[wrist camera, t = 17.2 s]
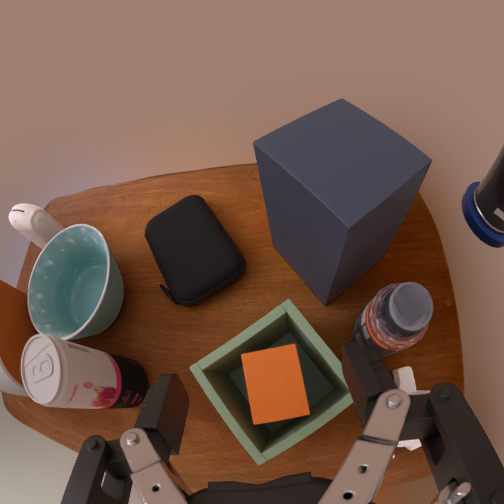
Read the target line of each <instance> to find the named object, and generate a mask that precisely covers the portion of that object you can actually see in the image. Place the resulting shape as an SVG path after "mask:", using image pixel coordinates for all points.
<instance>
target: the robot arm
mask: <svg viewBox="0 0 504 504" xmlns="http://www.w3.org/2000/svg"><path fill="white" fill-rule="evenodd" d="M472 201H473V206H474V209H475V211H476V213H477V215H478V217H479V218H480V220H481V221H482V222H483V223H484V225H485V226H486V227H487V228H489V229H490V230H491V231H493V232H494V233H497V234H500V235H504V143H503V145H502V147H501V149H500V151H499V152H498V154H497V156H496V158H495V159H494V161H493V163H492V165H491V166H490V168H489V170H488V171H487V173H486V175H485V176H484V178H483V179H482V181H481V182H480V184H479V185H478V186H477V188H476V189H475V191H474V192H473V196H472ZM341 359H342V371H343V376H344V379H345V381H346V384H347V386H348V389H349V392H350V394H351V397H352V399H353V402H354V404H355V407H356V410H357V412H358V415H359V417H360V420H361V423H362V425H363V428H364V431H363V433H362V435H361V436H359V437H358V438H357V439H356V441H355V442H354V444H353V446H352V448H351V450H350V452H349V454H348V455H347V457H346V459H345V461H344V463H343V464H342V466H341V468H340V469H339V471H338V473H337V474H336V476H335V478H334V479H333V480H331V479H327V478H321V477H311V472H306V473H300V474H295V475H288V476H284V477H281V478H278V479H275V480H272V481H269V482H266V483H263V484H259V485H255V484H247V483H240V482H234V481H227V482H208V488H205V489H202V490H200V491H197V492H195V493H193V492H192V491H191V490H190V489H189V487H188V486H187V485H186V483H185V482H184V481H183V479H182V478H181V476H180V475H179V474H178V472H177V471H176V469H175V468H174V466H173V465H172V463H171V462H170V461H169V457H170V455H179V450H180V445H181V440H182V435H183V431H184V426H185V421H186V417H187V412H188V408H189V397H188V394H187V392H186V390H185V388H184V387H183V385H182V383H181V381H180V379H179V377H178V375H177V374H163V375H161V376H160V378H159V380H158V383H157V385H153V386H152V387H151V388H150V389H149V391H148V392H147V394H146V397H145V401H144V402H143V405H142V407H141V410H140V412H139V415H138V418H137V420H136V423H135V426H134V428H131V429H128V430H127V431H125V432H124V433H123V434H122V435H121V437H120V439H117V440H111V441H106V440H105V439H104V438H103V437H101V436H99V435H93V436H90V437H89V438H87V439H86V440H85V441H84V443H83V445H82V447H81V450H80V452H79V455H78V457H77V460H76V463H75V465H74V468H73V470H72V474H71V476H70V479H69V481H68V484H67V487H66V490H65V493H64V496H63V499H62V502H61V504H128V502H129V497H130V492H131V488H132V483H134V485H135V487H136V489H137V491H138V493H139V495H140V497H141V499H142V501H143V503H144V504H375V503H374V502H372V501H373V499H374V497H375V495H376V493H377V491H378V489H379V487H380V485H381V483H382V481H383V479H384V476H385V474H386V472H387V470H388V467H389V465H390V463H391V460H392V458H393V456H394V453H395V451H396V448H397V445H398V443H399V441H406V440H414V439H419V440H420V443H421V445H422V447H423V450H424V452H425V455H426V458H427V460H428V463H429V465H430V468H431V471H432V473H433V476H434V478H435V481H436V484H437V487H438V490H439V494H438V495H437V496H436V497H435V498H434V499H433V501H432V502H431V504H504V467H503V465H502V463H501V461H500V460H499V458H498V455H497V453H496V452H495V450H494V448H493V446H492V444H491V442H490V440H489V439H488V437H487V435H486V433H485V431H484V430H483V428H482V426H481V425H480V423H479V421H478V419H477V418H476V416H475V415H474V413H473V411H472V409H471V408H470V406H469V405H468V403H467V401H466V400H465V398H464V397H463V395H462V394H461V392H460V391H459V389H458V388H457V387H456V386H455V385H454V384H452V383H447V382H443V383H439V384H437V385H435V386H434V387H433V388H432V389H431V391H430V393H427V394H419V395H409V394H407V393H406V392H405V391H403V390H400V389H398V387H397V385H396V384H395V382H394V380H393V379H392V377H391V375H390V373H389V372H388V370H387V368H386V367H385V365H384V363H383V362H382V361H381V358H380V357H379V355H378V353H377V352H376V351H374V350H373V349H371V348H370V347H367V348H364V349H361V347H360V345H359V343H358V342H357V340H354V341H350V342H347V343H343V344H341ZM104 472H106V475H105V479H104V482H103V486H102V487H101V482H102V479H103V476H104Z"/></svg>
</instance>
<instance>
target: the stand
mask: <svg viewBox="0 0 504 504" xmlns="http://www.w3.org/2000/svg"><path fill="white" fill-rule="evenodd" d="M253 145H254V150H255V155H256V160H257V165H258V170H259V175H260V180H261V185H262V190H263V195H264V200H265V205H266V211H267V216H268V221H269V226H270V232H271V237H272V243H273V246H274V248H275V249H276V250H277V251H278V252H279V253H280V255H281V256H282V257H283V258H284V259H285V260H286V261H287V263H288V264H289V265H290V266H291V267H292V268H293V270H294V271H295V272H296V273H297V274H298V275H299V277H300V278H301V279H302V280H303V281H304V282H305V284H306V285H307V286H308V287H309V288H310V290H311V291H312V292H313V293H314V294H315V295H316V297H317V298H318V299H319V300H320V301H321V303H322V304H323V305H324V306H326V305H327V304H329V303H330V302H331V301H332V300H333V299H335V298H336V297H337V296H338V295H340V294H341V293H342V292H343V291H344V290H346V289H347V288H348V287H349V286H350V285H351V284H353V283H354V282H355V281H356V280H357V279H358V278H360V277H361V276H362V275H363V274H364V273H365V272H366V271H368V270H369V269H370V268H371V267H372V266H373V265H374V264H375V263H377V262H378V261H379V260H380V259H381V258H382V257H383V256H384V254H385V253H386V251H387V249H388V247H389V246H390V244H391V242H392V240H393V239H394V237H395V235H396V233H397V231H398V230H399V228H400V226H401V224H402V222H403V220H404V218H405V216H406V215H407V213H408V211H409V209H410V207H411V205H412V203H413V201H414V199H415V197H416V195H417V193H418V191H419V188H420V186H421V184H422V182H423V180H424V178H425V175H426V173H427V171H428V169H429V167H430V164H431V162H432V159H430V158H429V157H428V156H427V155H425V154H424V153H423V152H422V151H420V150H419V149H418V148H417V147H415V146H414V145H413V144H411V143H410V142H409V141H407V140H406V139H404V138H403V137H402V136H400V135H399V134H397V133H396V132H395V131H393V130H392V129H390V128H389V127H387V126H386V125H384V124H383V123H381V122H380V121H378V120H377V119H375V118H374V117H372V116H371V115H369V114H367V113H366V112H364V111H363V110H361V109H359V108H357V107H356V106H354V105H352V104H351V103H349V102H347V101H346V100H344V99H339V100H337V101H335V102H332V103H330V104H328V105H326V106H323V107H321V108H319V109H317V110H315V111H313V112H311V113H309V114H306V115H304V116H302V117H300V118H298V119H296V120H294V121H292V122H290V123H288V124H286V125H284V126H283V127H280V128H278V129H276V130H275V131H273V132H271V133H269V134H267V135H265V136H263V137H261V138H260V139H258V140H256V141H254V142H253Z"/></svg>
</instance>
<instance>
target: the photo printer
mask: <svg viewBox="0 0 504 504" xmlns="http://www.w3.org/2000/svg"><path fill="white" fill-rule="evenodd" d="M9 220H10V223H11V225H12V226H13V227H14V228H16V229H17V230H18V231H19V232H21V233H22V234H23V235H24V236H26V237H27V238H28V239H30V240H31V241H32V242H34V243H35V244H36V245H37V246H39V247H40V248H41V249H44V247H45V246H46V245H47V244H48V242H49V241H50V240H51V239H52V238H53V237H54V236H55V235H57V234H58V233H59V232H61V231H62V230H64V229H65V228H64V227H63V226H61V225H60V224H59V223H58V222H57V221H56V220H55V219H54V218H52V217H51V216H50V215H49V214H48V213H47V212H46V211H45V210H43V209H42V208H40V207H38V206H35V205H31V204H18V205H15V206H14V207H13V208H12V211H11V212H10V213H9Z"/></svg>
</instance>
